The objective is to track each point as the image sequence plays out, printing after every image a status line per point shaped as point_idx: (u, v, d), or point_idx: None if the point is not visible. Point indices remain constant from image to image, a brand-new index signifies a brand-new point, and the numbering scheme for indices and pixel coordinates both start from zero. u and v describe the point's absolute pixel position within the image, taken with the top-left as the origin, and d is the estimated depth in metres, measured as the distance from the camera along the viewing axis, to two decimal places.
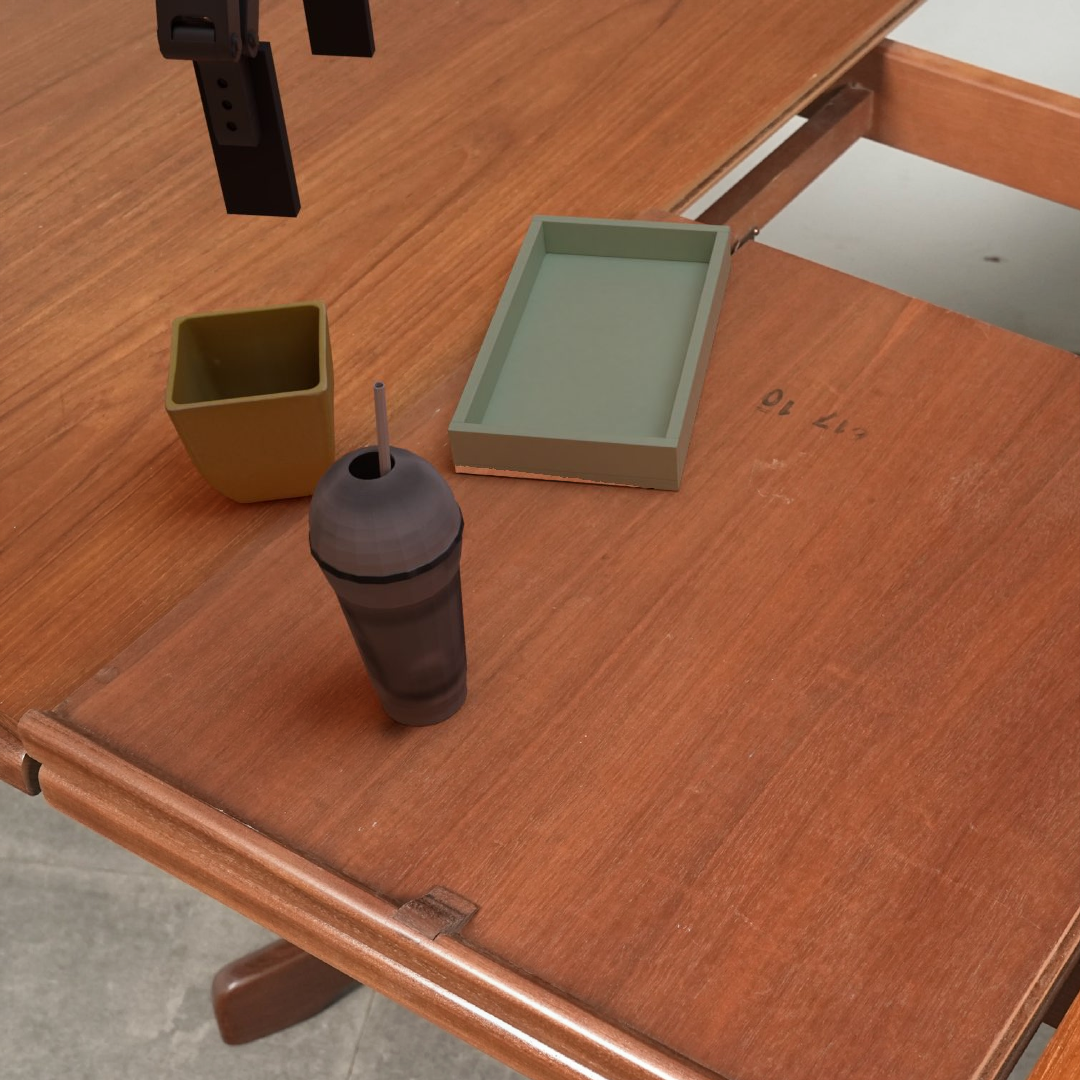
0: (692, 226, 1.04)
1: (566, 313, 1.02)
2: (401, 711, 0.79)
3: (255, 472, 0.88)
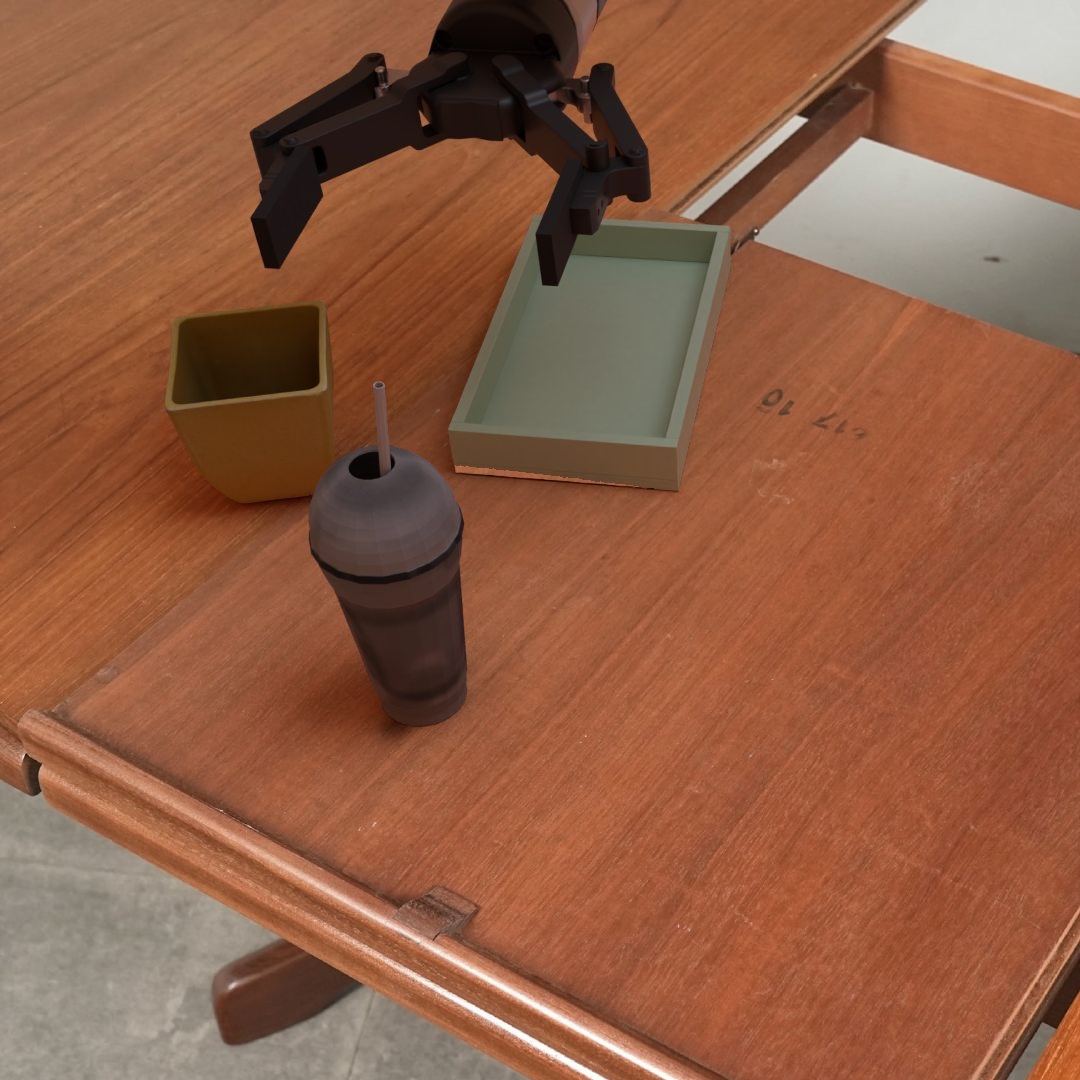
0: (692, 226, 1.04)
1: (566, 313, 1.02)
2: (401, 711, 0.79)
3: (255, 472, 0.88)
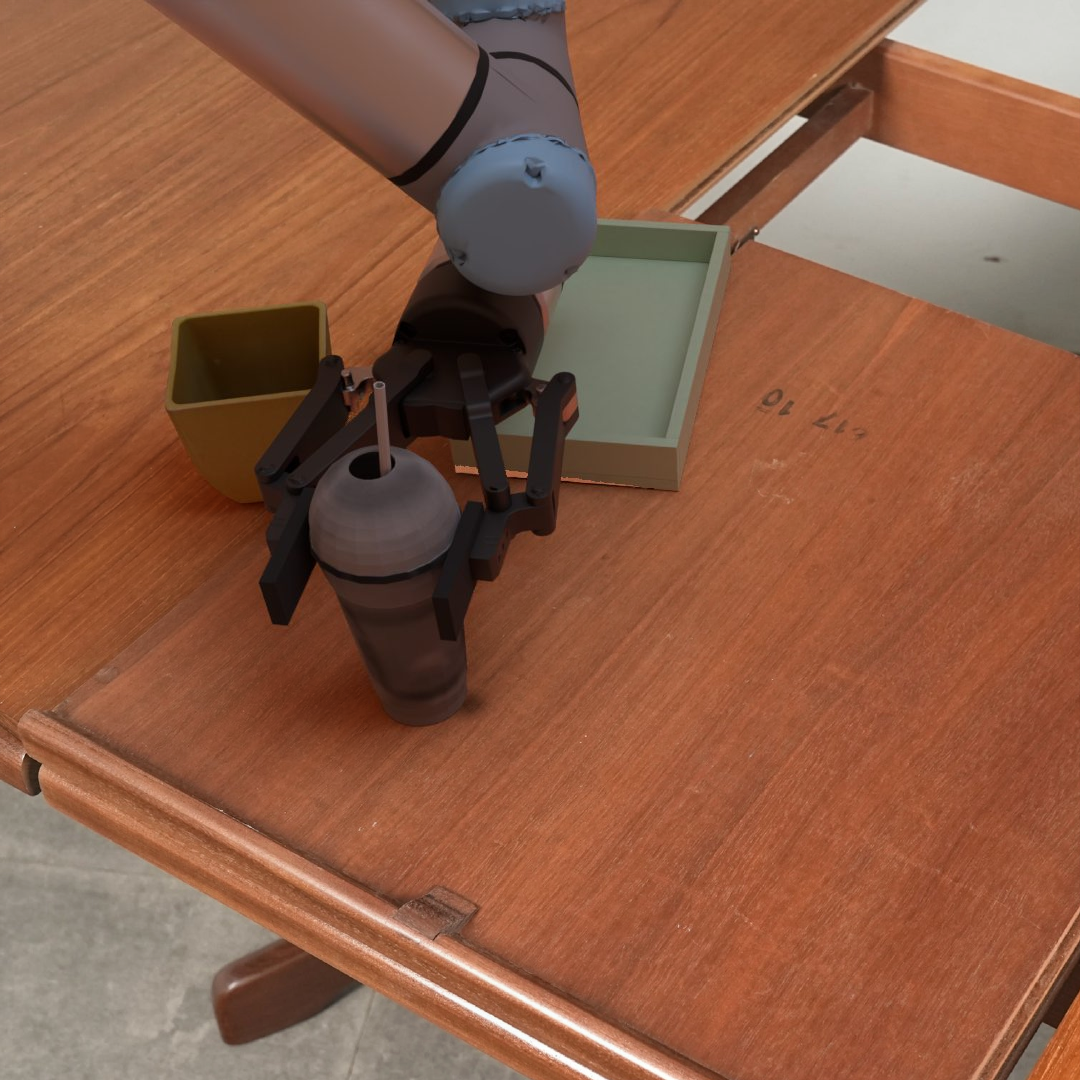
0: (692, 226, 1.04)
1: (566, 313, 1.02)
2: (401, 711, 0.79)
3: None
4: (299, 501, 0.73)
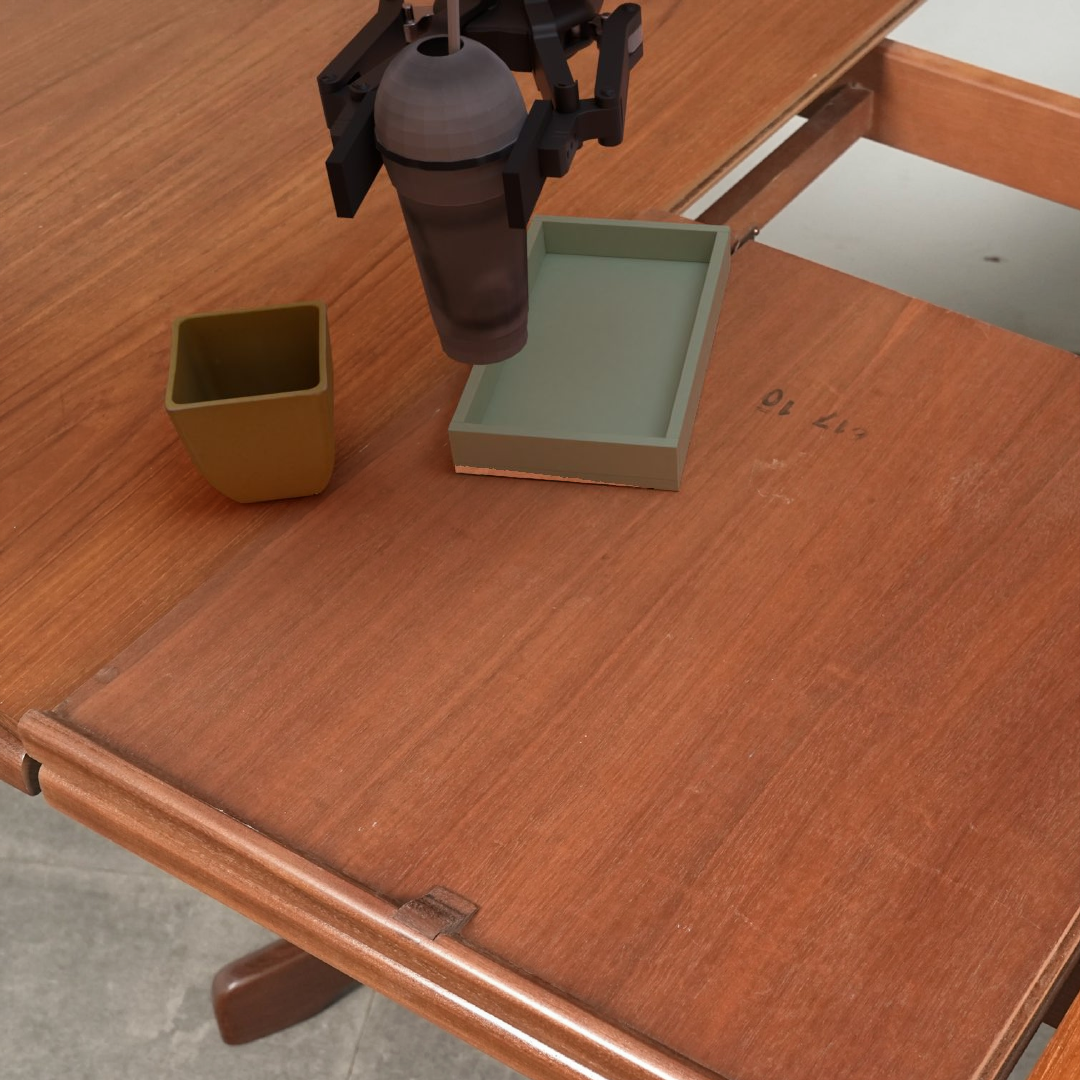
0: (692, 226, 1.04)
1: (566, 313, 1.02)
2: (462, 346, 0.77)
3: (255, 472, 0.88)
4: (364, 101, 0.71)
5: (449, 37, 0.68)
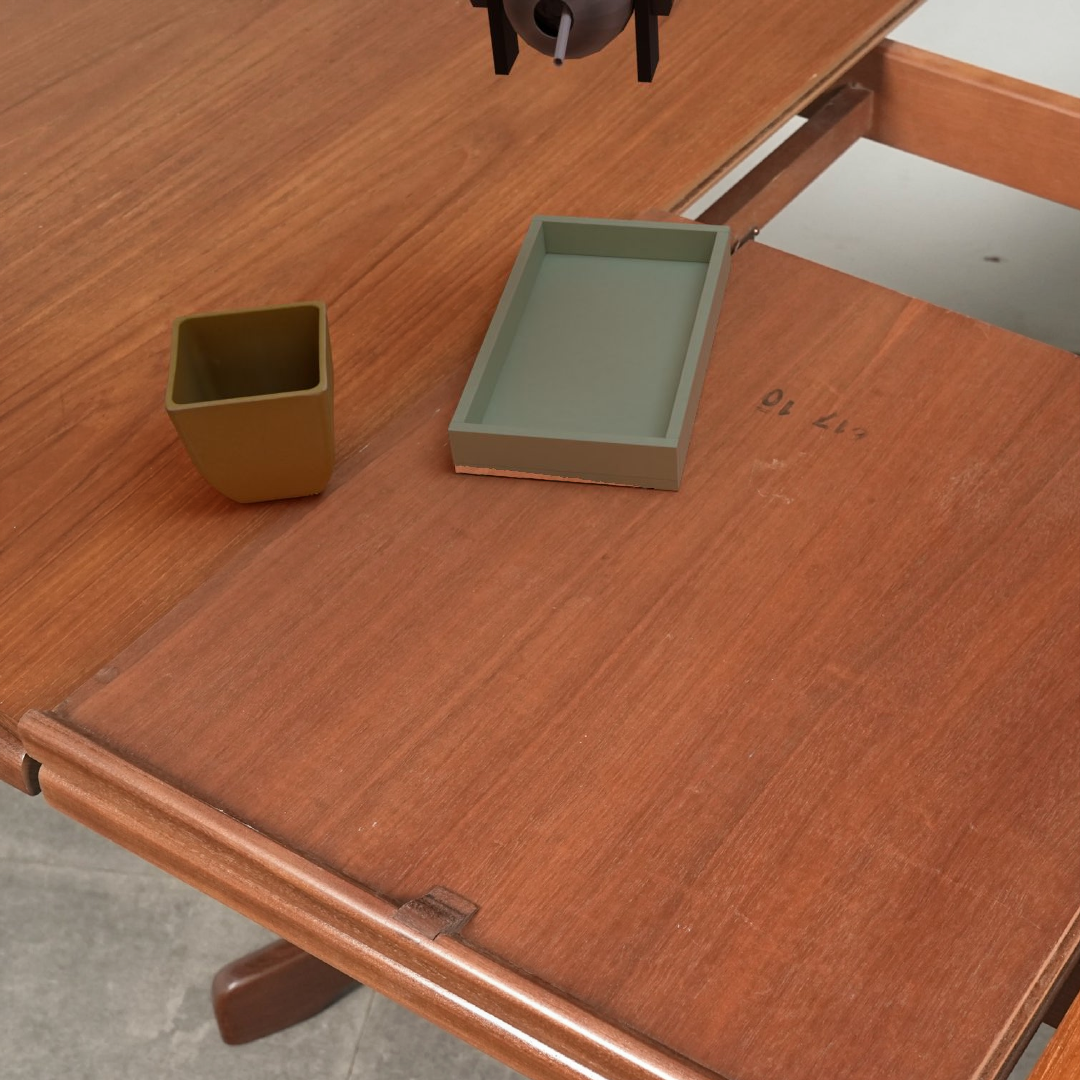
0: (692, 226, 1.04)
1: (566, 313, 1.02)
2: None
3: (255, 472, 0.88)
4: None
5: None
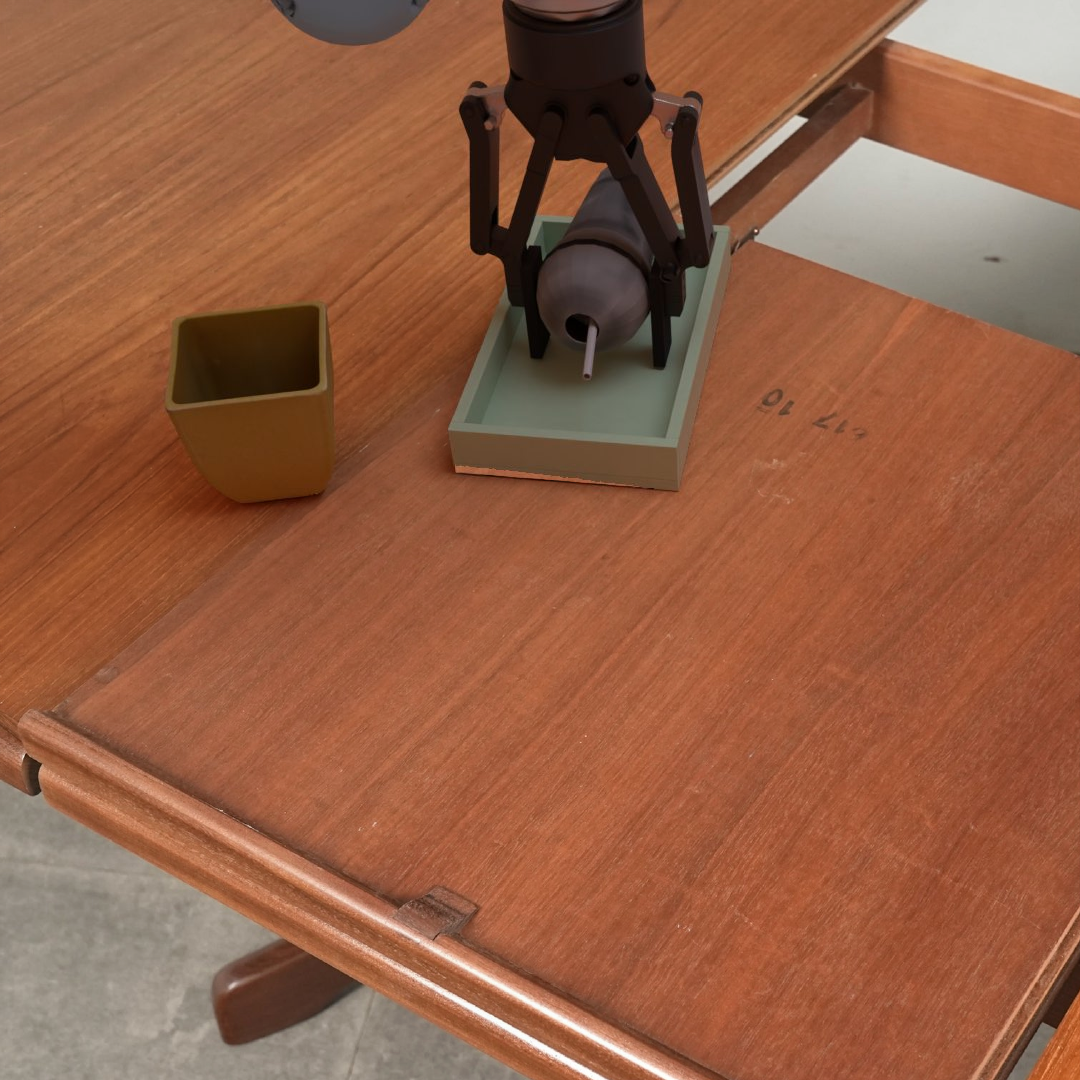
0: None
1: None
2: None
3: (255, 472, 0.88)
4: (522, 283, 0.95)
5: None
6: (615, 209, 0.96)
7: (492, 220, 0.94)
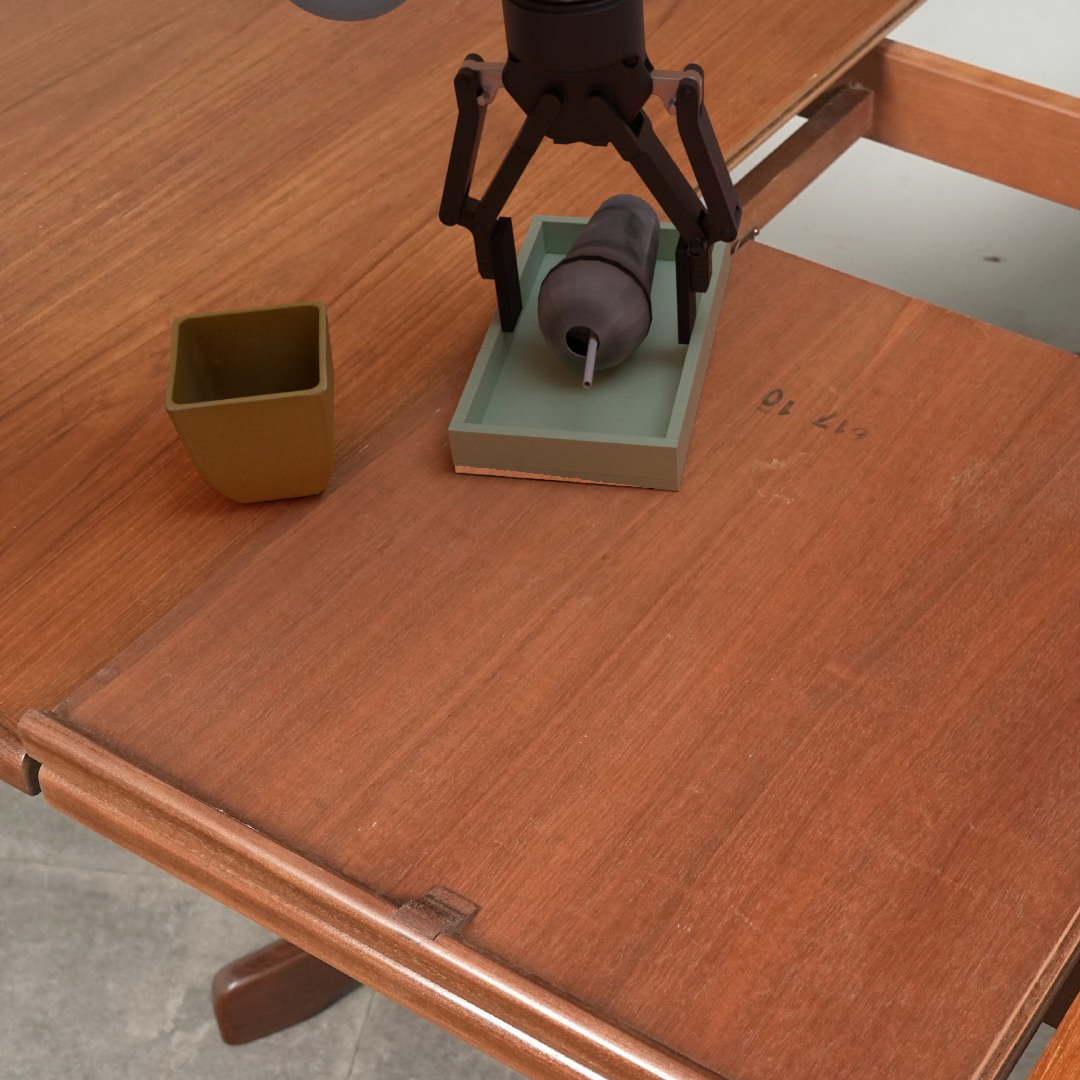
0: None
1: None
2: None
3: (255, 472, 0.88)
4: (492, 255, 0.93)
5: None
6: (618, 233, 0.98)
7: None
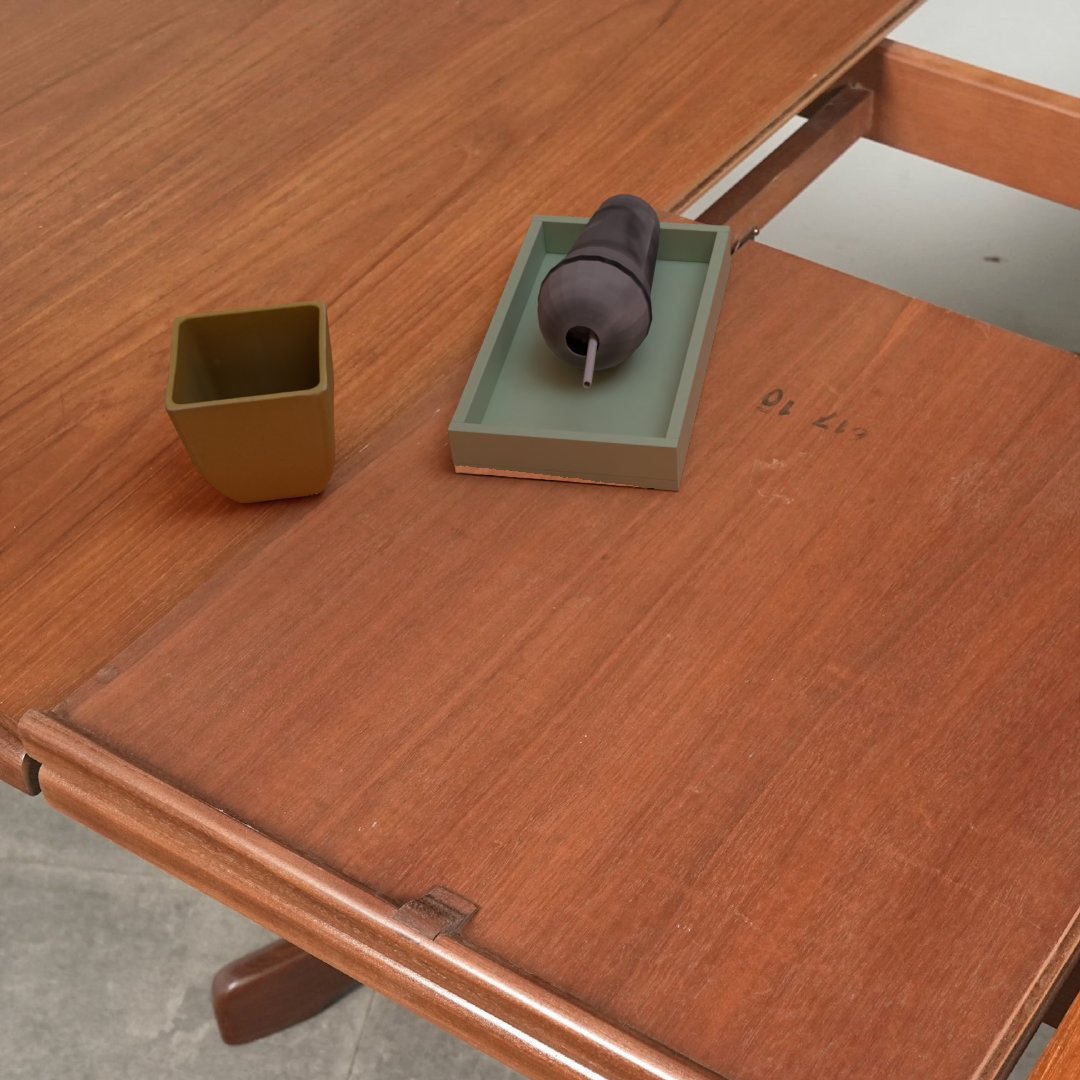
0: (692, 226, 1.04)
1: None
2: None
3: (255, 472, 0.88)
4: None
5: None
6: (618, 233, 0.98)
7: None
